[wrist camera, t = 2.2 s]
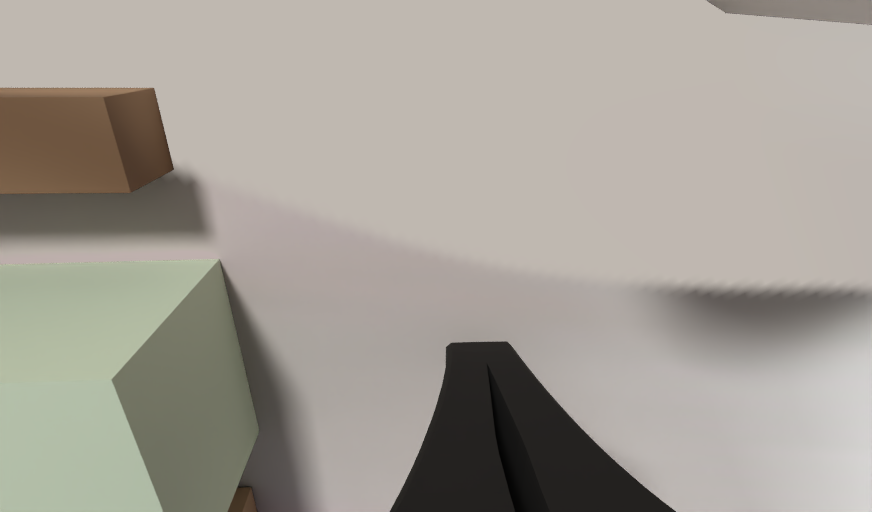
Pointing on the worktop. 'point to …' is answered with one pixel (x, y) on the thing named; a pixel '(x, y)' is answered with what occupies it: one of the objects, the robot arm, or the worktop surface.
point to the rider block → (121, 388)
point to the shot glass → (802, 9)
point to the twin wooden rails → (85, 151)
